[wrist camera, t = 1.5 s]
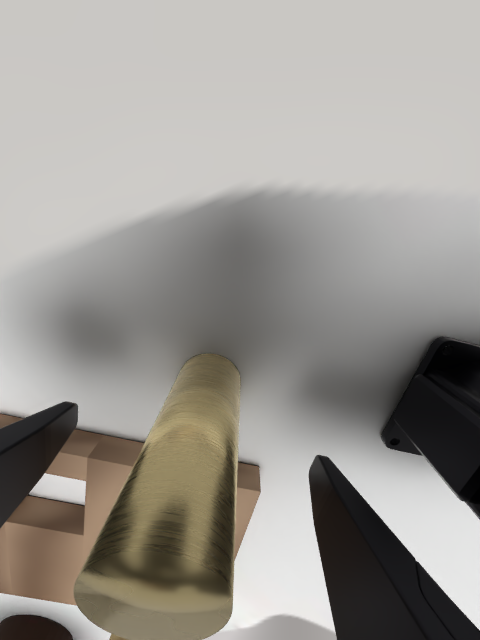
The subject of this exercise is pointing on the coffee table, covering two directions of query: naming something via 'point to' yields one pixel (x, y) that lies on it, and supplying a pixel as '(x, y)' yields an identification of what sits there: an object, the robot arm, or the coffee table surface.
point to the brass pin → (173, 518)
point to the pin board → (81, 517)
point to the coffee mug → (32, 629)
